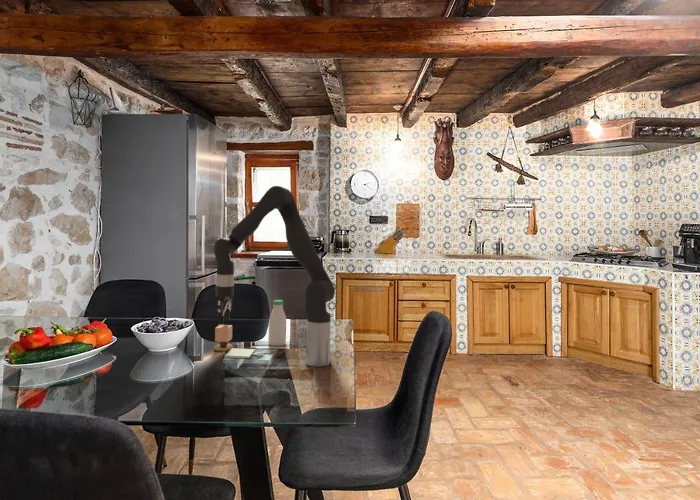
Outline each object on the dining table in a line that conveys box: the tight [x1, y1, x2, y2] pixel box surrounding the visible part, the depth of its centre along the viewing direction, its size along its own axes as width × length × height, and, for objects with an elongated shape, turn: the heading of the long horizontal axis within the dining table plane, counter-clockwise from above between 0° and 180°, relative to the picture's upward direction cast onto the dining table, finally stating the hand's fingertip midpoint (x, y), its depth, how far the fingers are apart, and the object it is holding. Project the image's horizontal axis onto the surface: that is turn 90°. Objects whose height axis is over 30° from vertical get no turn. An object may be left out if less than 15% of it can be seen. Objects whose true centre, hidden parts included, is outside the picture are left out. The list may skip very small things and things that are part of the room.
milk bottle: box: [268, 299, 287, 347], centre depth 197 cm, size 8×8×20 cm
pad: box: [224, 347, 256, 359], centre depth 181 cm, size 10×10×1 cm
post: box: [213, 341, 234, 353], centre depth 187 cm, size 8×8×9 cm
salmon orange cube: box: [214, 324, 233, 343], centre depth 186 cm, size 6×6×6 cm
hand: (223, 321), depth 186 cm, fingers open, 8 cm apart
